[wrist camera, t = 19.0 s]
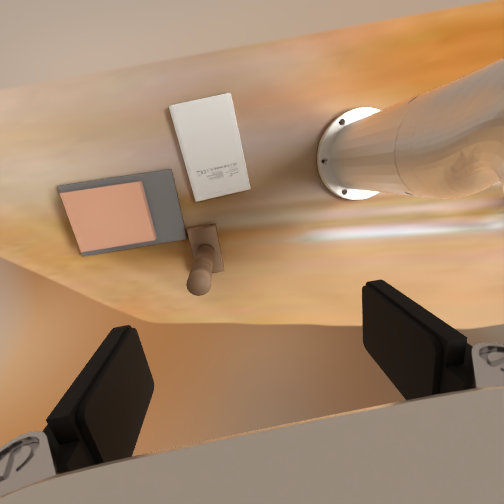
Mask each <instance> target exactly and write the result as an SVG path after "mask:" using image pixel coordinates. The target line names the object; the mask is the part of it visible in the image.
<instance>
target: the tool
mask: <svg viewBox="0 0 504 504" xmlns="http://www.w3.org/2000/svg"><path fill="white" fill-rule="evenodd" d="M187 232H188V237H189V241H190V245H191V250H192V254H193V258H194V263H193V266H192V269H191V272H190V275H189V278H188V281H187V289H188V290H189V292H190V293H192V294H193V295H197V296H200V295H204V294H206V293H207V292H208V291H209V289H210V286H211V277H212V273H216V272H222V271H224V265H223V260H222V255H221V250H220V245H219V240H218V234H217V229H216V224H210V225H204V226H198V227H192V228H189V229H188V230H187Z"/></svg>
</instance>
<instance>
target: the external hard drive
mask: <svg viewBox="0 0 504 504" xmlns="http://www.w3.org/2000/svg"><path fill="white" fill-rule="evenodd" d="M169 109H170V113H171V116H172V120H173V124H174V127H175V131H176V134H177V138H178V141H179V145H180V148H181V152H182V155H183V159H184V163H185V166H186V170H187V173H188V177H189V180H190V184H191V187H192V191H193V194H194V198H195V201H196V202H198V201H202V200H206V199H210V198H215V197H219V196H223V195H228V194H232V193H236V192H241V191H245V190H249V189H251V187H250V183H249V178H248V173H247V168H246V163H245V158H244V154H243V149H242V144H241V139H240V135H239V130H238V125H237V120H236V115H235V111H234V106H233V101H232V97H231V93H225V94H220V95H216V96H211V97H206V98H202V99H197V100H192V101H188V102H183V103H178V104H174V105H169Z"/></svg>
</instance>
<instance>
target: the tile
mask: <svg viewBox="0 0 504 504" xmlns="http://www.w3.org/2000/svg"><path fill="white" fill-rule="evenodd" d="M60 196H61V199H62V202H63V204H64V207H65V210H66V212H67V215H68V218H69V221H70V223H71V226H72V229H73V232H74V234H75V237H76V240H77V243H78V245H79V248H80V251H81V252H87V251H93V250H99V249H105V248H111V247H117V246H123V245H129V244H135V243H141V242H147V241H152V240H155V239H156V238H157V237H156V233H155V229H154V226H153V222H152V218H151V214H150V211H149V207H148V203H147V199H146V195H145V192H144V188H143V184H142V181H138V182H132V183H125V184H118V185H112V186H105V187H98V188H92V189H85V190H78V191H72V192H65V193H60Z"/></svg>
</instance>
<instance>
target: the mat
mask: <svg viewBox="0 0 504 504" xmlns="http://www.w3.org/2000/svg"><path fill="white" fill-rule="evenodd" d="M138 181H142V184H143V188H144V192H145V195H146V199H147V203H148V207H149V211H150V214H151V218H152V222H153V226H154V229H155V233H156V237H157V238H156V239H155V240H152V241H147V242H141V243H135V244H129V245H123V246H117V247H111V248H105V249H99V250H93V251H87V252H81V253H82V256H89V255H95V254H101V253H107V252H113V251H119V250H125V249H131V248H137V247H143V246H149V245H155V244H161V243H167V242H173V241H179V240H186V239H187V235H186V230H185V226H184V222H183V217H182V213H181V209H180V204H179V200H178V195H177V191H176V187H175V182H174V178H173V173H172V169H168V170H161V171H155V172H148V173H141V174H134V175H128V176H121V177H114V178H107V179H101V180H94V181H87V182H80V183H74V184H67V185H60V186H57V187H58V189H59V192H60V193H65V192H72V191H78V190H85V189H92V188H98V187H105V186H112V185H118V184H125V183H132V182H138Z"/></svg>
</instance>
